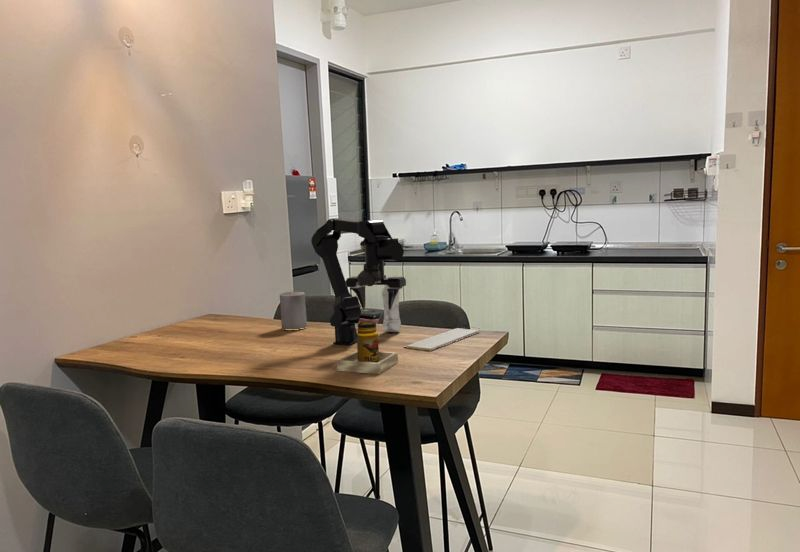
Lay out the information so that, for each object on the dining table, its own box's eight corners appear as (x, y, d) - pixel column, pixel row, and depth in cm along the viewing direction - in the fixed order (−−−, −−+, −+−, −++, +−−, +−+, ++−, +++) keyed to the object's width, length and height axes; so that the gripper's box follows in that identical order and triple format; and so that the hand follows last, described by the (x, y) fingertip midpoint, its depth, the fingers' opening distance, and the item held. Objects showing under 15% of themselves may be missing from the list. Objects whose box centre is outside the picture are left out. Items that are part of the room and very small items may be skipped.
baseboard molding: (399, 349, 191) (430, 353, 184) (399, 340, 191) (430, 344, 183) (450, 331, 216) (479, 334, 208) (450, 323, 215) (479, 326, 208)
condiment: (376, 368, 164) (374, 325, 163) (347, 367, 166) (345, 325, 165) (383, 361, 171) (381, 320, 170) (355, 360, 173) (353, 320, 172)
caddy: (337, 370, 165) (336, 360, 165) (358, 359, 177) (357, 350, 177) (379, 374, 160) (379, 363, 160) (398, 362, 172) (397, 352, 172)
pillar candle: (286, 326, 235) (283, 288, 233) (310, 325, 234) (307, 288, 232) (278, 331, 226) (275, 292, 224) (302, 331, 224) (300, 291, 222)
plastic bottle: (404, 331, 216) (402, 276, 214) (394, 334, 210) (392, 279, 208) (390, 329, 219) (387, 276, 217) (379, 333, 214) (377, 278, 211)
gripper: (336, 262, 183) (338, 312, 184) (391, 262, 175) (393, 314, 177) (352, 259, 193) (354, 306, 194) (405, 259, 185) (407, 308, 187)
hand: (376, 309), depth 188 cm, fingers open, 9 cm apart
